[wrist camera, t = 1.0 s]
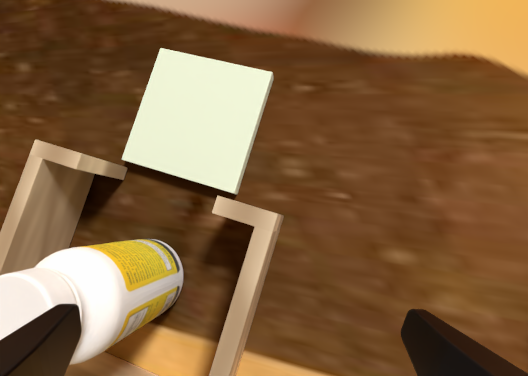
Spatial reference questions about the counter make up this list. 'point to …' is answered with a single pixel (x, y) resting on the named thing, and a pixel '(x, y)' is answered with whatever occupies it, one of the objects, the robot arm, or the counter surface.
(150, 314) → the supplement bottle
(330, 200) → the counter surface
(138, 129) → the pad
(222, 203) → the open frame
